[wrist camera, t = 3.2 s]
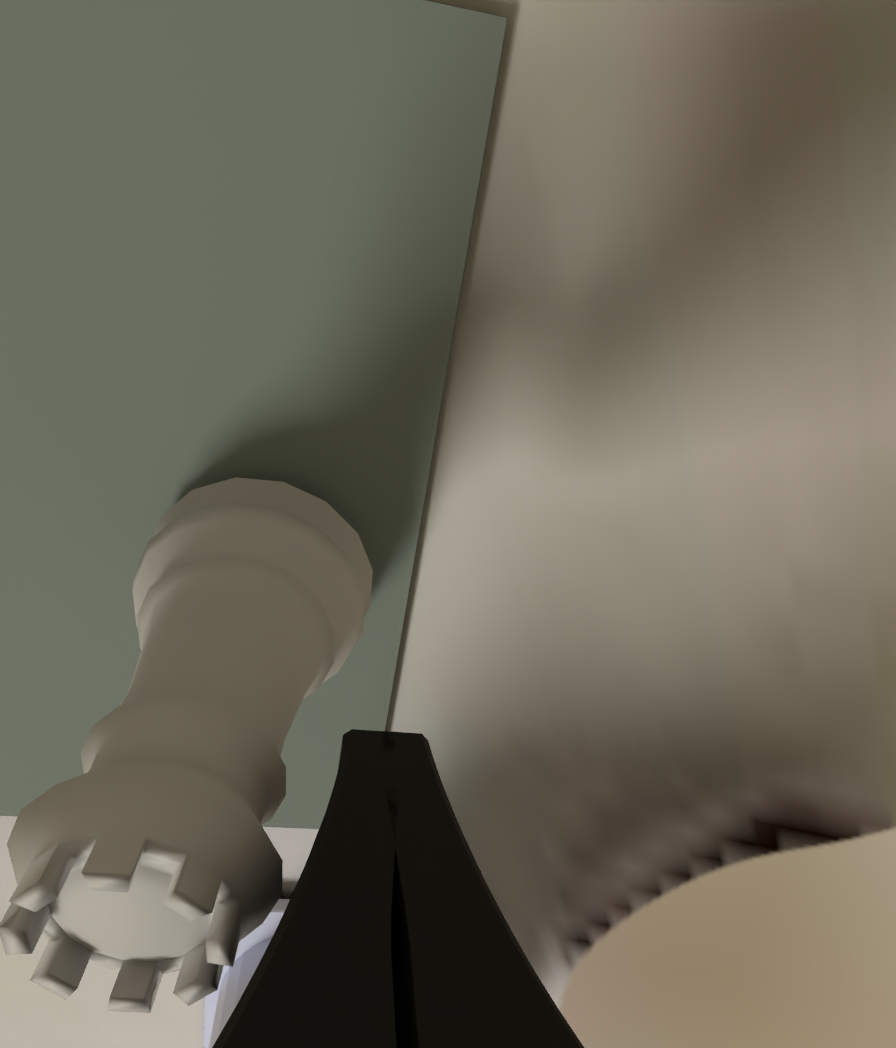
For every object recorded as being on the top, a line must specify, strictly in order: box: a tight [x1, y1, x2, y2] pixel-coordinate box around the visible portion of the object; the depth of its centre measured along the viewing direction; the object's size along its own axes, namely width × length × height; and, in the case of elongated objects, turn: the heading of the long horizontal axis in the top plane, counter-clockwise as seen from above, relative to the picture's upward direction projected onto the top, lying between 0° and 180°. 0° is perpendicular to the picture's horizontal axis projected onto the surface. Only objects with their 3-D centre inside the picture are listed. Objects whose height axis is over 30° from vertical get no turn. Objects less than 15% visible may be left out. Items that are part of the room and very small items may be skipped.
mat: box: [0, 0, 507, 829], centre depth 14 cm, size 18×16×1 cm
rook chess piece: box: [0, 477, 373, 1013], centre depth 12 cm, size 4×4×8 cm
